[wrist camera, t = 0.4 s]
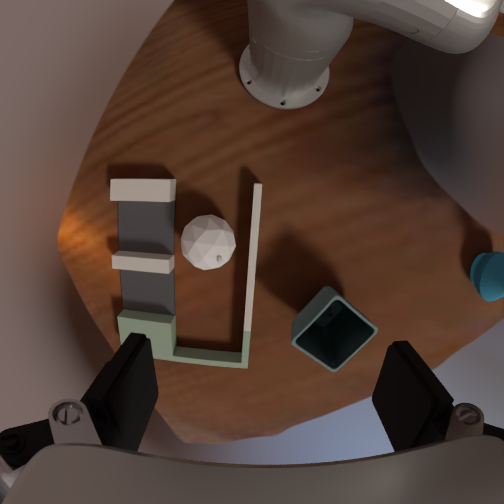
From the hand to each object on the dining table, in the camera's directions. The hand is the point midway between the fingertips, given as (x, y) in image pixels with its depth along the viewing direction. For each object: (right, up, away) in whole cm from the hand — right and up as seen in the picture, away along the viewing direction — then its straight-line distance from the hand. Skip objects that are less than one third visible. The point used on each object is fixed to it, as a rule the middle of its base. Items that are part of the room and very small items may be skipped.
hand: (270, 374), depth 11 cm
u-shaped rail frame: (-11, +1, +33) cm, 35 cm away
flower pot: (+10, -4, +35) cm, 37 cm away
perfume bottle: (+43, +1, +33) cm, 54 cm away
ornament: (-6, +7, +32) cm, 33 cm away
